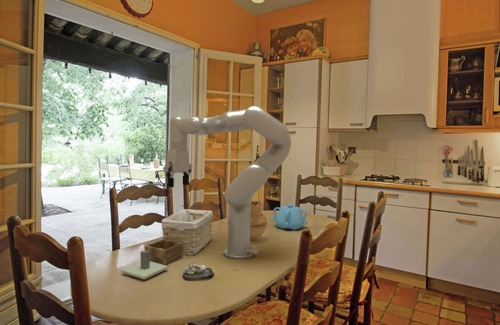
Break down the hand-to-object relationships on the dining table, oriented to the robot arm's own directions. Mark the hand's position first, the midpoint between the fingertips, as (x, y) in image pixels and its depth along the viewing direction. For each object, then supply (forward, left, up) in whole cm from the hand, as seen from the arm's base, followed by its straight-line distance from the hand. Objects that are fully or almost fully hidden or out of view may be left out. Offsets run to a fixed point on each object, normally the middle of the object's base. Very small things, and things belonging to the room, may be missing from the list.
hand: (178, 185), depth 139 cm
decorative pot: (-27, -63, -29) cm, 74 cm away
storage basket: (-1, -6, -29) cm, 29 cm away
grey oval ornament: (-24, +16, -29) cm, 41 cm away
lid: (-7, +25, -29) cm, 39 cm away
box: (-3, +12, -28) cm, 31 cm away
